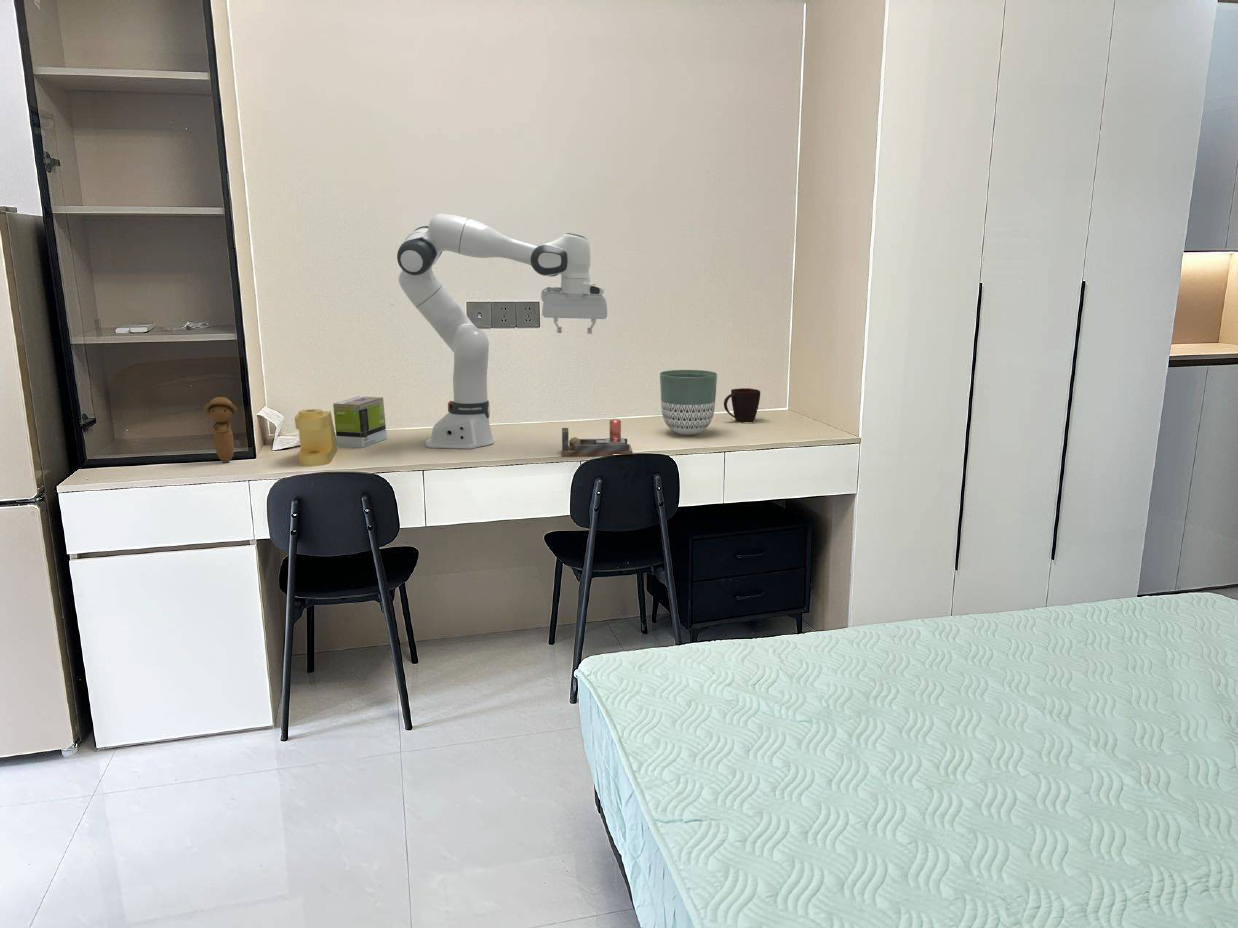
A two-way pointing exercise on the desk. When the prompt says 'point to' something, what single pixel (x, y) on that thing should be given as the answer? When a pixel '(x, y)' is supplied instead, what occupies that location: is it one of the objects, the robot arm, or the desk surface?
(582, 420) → the desk surface
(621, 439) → the ram
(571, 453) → the press bed
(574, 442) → the walnut ball
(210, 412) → the figurine
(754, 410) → the cup
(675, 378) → the planter
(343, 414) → the tea box
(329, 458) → the clamp
